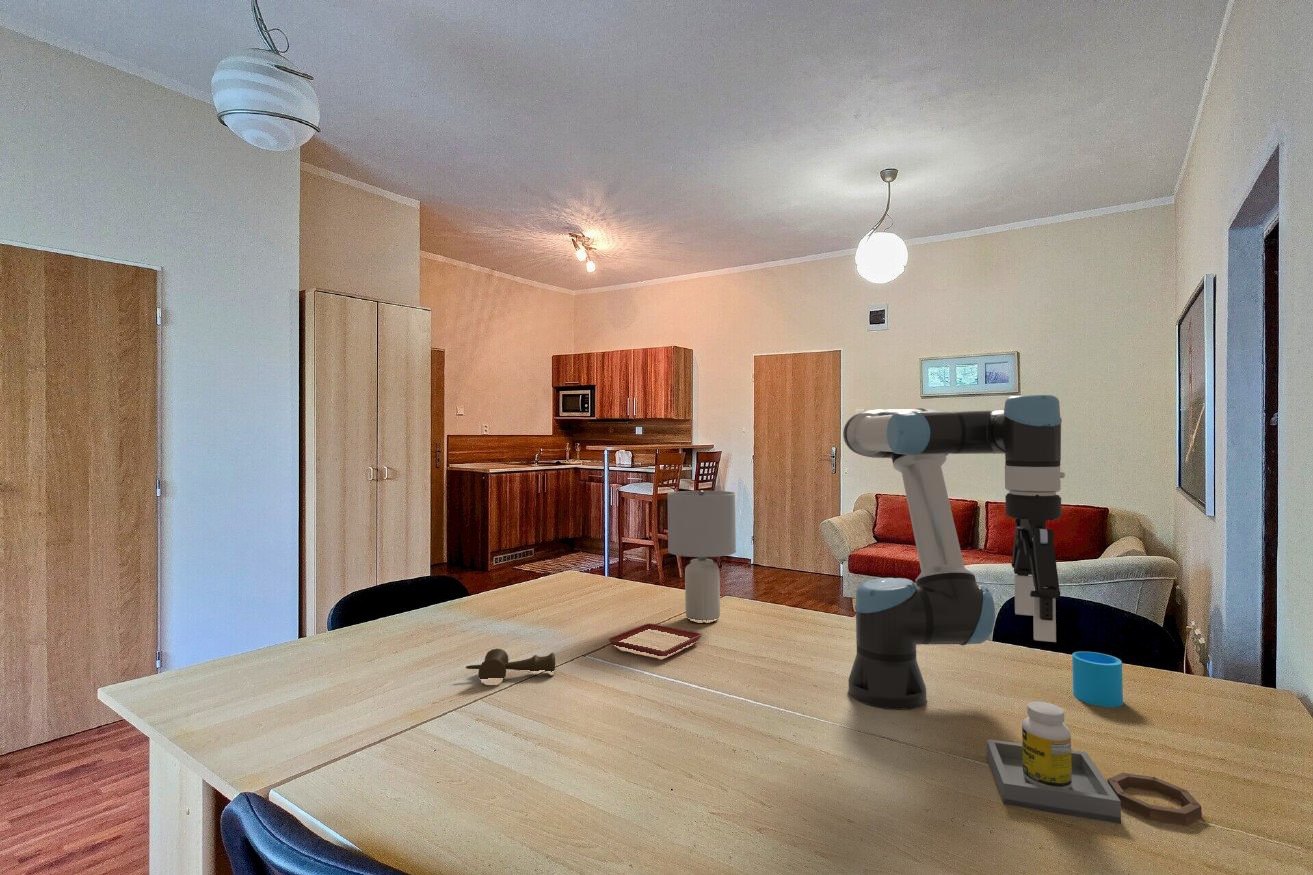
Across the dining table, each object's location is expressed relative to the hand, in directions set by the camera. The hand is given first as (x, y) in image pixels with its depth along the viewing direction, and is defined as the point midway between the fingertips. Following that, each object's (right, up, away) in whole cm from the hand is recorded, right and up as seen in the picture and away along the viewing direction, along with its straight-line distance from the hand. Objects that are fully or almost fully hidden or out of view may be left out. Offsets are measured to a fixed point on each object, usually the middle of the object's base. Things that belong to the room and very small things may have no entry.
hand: (1033, 626), depth 96 cm
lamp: (-46, -25, +86) cm, 101 cm away
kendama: (-93, -25, +42) cm, 105 cm away
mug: (+30, -23, +28) cm, 47 cm away
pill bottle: (-1, -22, -5) cm, 22 cm away
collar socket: (+11, -22, -10) cm, 27 cm away
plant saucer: (-60, -25, +62) cm, 90 cm away
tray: (-1, -23, -5) cm, 23 cm away
